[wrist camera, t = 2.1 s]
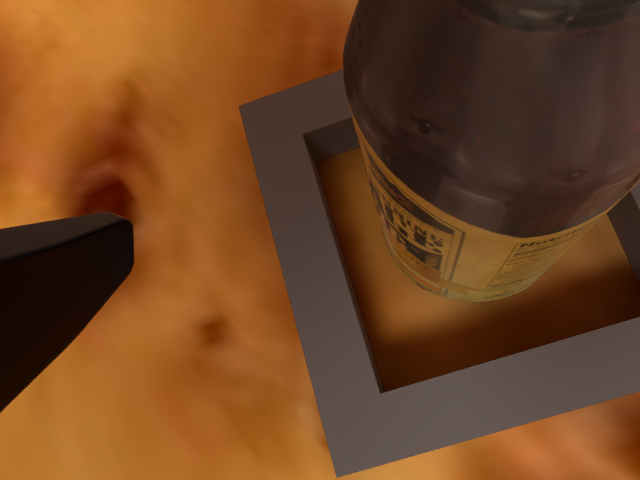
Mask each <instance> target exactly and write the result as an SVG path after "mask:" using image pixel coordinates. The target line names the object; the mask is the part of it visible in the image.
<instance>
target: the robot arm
mask: <svg viewBox="0 0 640 480" xmlns="http://www.w3.org/2000/svg"><path fill="white" fill-rule="evenodd" d="M133 264H134V235H133V225H132V223H131V221H130V220H129V219H127V218H125V217H122V216H120V215H117V214H115V213H112V212H102V213H96V214H89V215H83V216H77V217H71V218H65V219H59V220H53V221H47V222H41V223H34V224H28V225H22V226H16V227H10V228H4V229H0V412H2V411H3V410H4V409H5V408H6V407H7V406H8V405H9V404H10V403H11V402H12V401H13V400H14V399H15V398H16V397H17V396H18V395H19V394H20V393H21V392H22V391H23V390H24V389H25V388H26V387H27V386H28V385H29V384H30V383H31V382H32V381H33V380H34V379H35V378H36V377H37V376H38V375H39V374H40V373H41V372H42V371H43V370H44V369H45V368H47V367H48V366H49V365H50V364H51V363H52V362H53V361H54V360H55V359H56V358H57V357H58V356H59V355H60V354H61V353H62V352H63V351H64V350H65V349H66V348H67V347H68V346H69V345H70V344H71V343H72V342H73V341H74V339H75V338H76V337H77V336H78V335H79V334H80V333H81V332H82V330H83V329H84V328H85V327H86V326H87V324H88V323H89V322H90V321H91V320H92V318H93V317H94V316H95V315H96V314H97V312H98V311H99V310H100V309H101V308H102V306H103V305H104V304H105V303H106V302H107V300H108V299H109V298H110V297H111V296H112V294H113V293H114V292H115V291H116V290H117V288H118V287H119V286H120V285H121V284H122V282H123V281H124V280H125V279H126V278H127V276H128V275H129V274H130V272H131V270H132V268H133Z"/></svg>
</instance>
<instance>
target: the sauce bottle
mask: <svg viewBox="0 0 640 480" xmlns="http://www.w3.org/2000/svg"><path fill="white" fill-rule="evenodd" d="M343 81H344V85H345V90H346V95H347V99H348V103H349V107H350V111H351V116H352V119H353V123H354V127H355V130H356V134H357V137H358V140H359V144H360V148H361V152H362V156H363V162H364V165H365V168H366V173H367V176H368V179H369V183H370V186H371V190H372V194H373V198H374V201H375V204H376V208H377V212H378V215H379V219H380V223H381V227H382V231H383V234H384V238H385V241H386V244H387V247H388V249H389V251H390V253H391V254H392V256H393V258H394V259H395V261H396V263H397V265H398V266H399V267H400V268H401V269H402V270H403V272H404V273H406V274H407V275H408V276H409V277H410V278H411V279H412V280H413V281H414V282H415V283H417V284H418V285H419V286H420V287H421V288H423V289H425V290H428V291H430V292H432V293H434V294H436V295H439V296H441V297H444V298H447V299H451V300H455V301H463V302H478V303H486V302H491V301H494V300H499V299H503V298H506V297H509V296H512V295H514V294H517V293H519V292H521V291H524V290H526V289H527V288H529V287H530V286H531V285H532V284H533V283H534V282H536V281H537V280H538V279H539V278H540V277H541V276H542V275H543V274H545V273H546V272H547V271H548V270H549V269H550V268H551V267H552V266H553V265H554V264H555V263H556V262H557V261H558V260H559V259H560V258H561V257H563V256H564V255H565V254H566V253H567V252H568V251H569V250H570V249H571V248H572V247H573V246H574V245H575V244H576V243H577V242H578V241H579V240H580V239H581V238H582V237H583V236H584V235H585V234H586V233H587V232H588V231H589V230H590V229H591V228H592V227H593V226H594V225H595V224H596V223H597V222H598V221H599V220H600V219H601V218H602V217H603V216H604V215H605V214H606V213H608V212H609V211H610V210H611V209H612V208H613V207H614V206H615V205H616V204H617V203H618V202H619V201H620V200H621V199H622V198H623V197H624V196H625V195H626V194H627V193H628V192H629V191H630V190H631V189H632V188H633V187H634V186H635V184H636V183H637V182H638V181H639V180H640V0H358V3H357V6H356V9H355V12H354V15H353V18H352V21H351V24H350V27H349V30H348V33H347V36H346V41H345V46H344V51H343Z"/></svg>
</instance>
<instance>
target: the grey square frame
mask: <svg viewBox="0 0 640 480" xmlns="http://www.w3.org/2000/svg"><path fill="white" fill-rule="evenodd" d="M239 109H240V113H241V117H242V120H243V124H244V128H245V132H246V136H247V139H248V143H249V147H250V151H251V155H252V158H253V162H254V166H255V170H256V173H257V177H258V181H259V185H260V189H261V192H262V196H263V200H264V204H265V208H266V211H267V215H268V219H269V223H270V227H271V230H272V234H273V238H274V242H275V245H276V249H277V253H278V257H279V261H280V264H281V268H282V272H283V276H284V280H285V283H286V287H287V291H288V295H289V299H290V302H291V306H292V310H293V314H294V317H295V321H296V325H297V329H298V333H299V336H300V340H301V344H302V348H303V352H304V355H305V359H306V363H307V367H308V371H309V374H310V378H311V382H312V386H313V389H314V393H315V397H316V401H317V405H318V408H319V412H320V416H321V420H322V424H323V427H324V431H325V435H326V439H327V443H328V446H329V450H330V454H331V458H332V461H333V465H334V469H335V473H336V477H341V476H344V475H348V474H351V473H355V472H358V471H362V470H365V469H369V468H372V467H376V466H379V465H383V464H386V463H390V462H393V461H397V460H400V459H404V458H407V457H411V456H414V455H418V454H421V453H425V452H429V451H432V450H436V449H439V448H443V447H446V446H450V445H453V444H457V443H460V442H464V441H467V440H471V439H474V438H478V437H481V436H485V435H488V434H492V433H495V432H499V431H502V430H506V429H509V428H513V427H516V426H520V425H523V424H527V423H530V422H534V421H537V420H541V419H544V418H548V417H551V416H555V415H558V414H562V413H565V412H569V411H572V410H576V409H579V408H583V407H586V406H590V405H593V404H597V403H600V402H604V401H607V400H611V399H614V398H618V397H621V396H625V395H628V394H632V393H635V392H639V391H640V317H637V318H634V319H631V320H627V321H624V322H620V323H617V324H614V325H610V326H607V327H604V328H600V329H597V330H593V331H590V332H587V333H583V334H580V335H577V336H573V337H570V338H566V339H563V340H560V341H556V342H553V343H550V344H546V345H543V346H539V347H536V348H533V349H529V350H526V351H523V352H519V353H516V354H513V355H509V356H506V357H502V358H499V359H496V360H492V361H489V362H486V363H482V364H479V365H475V366H472V367H469V368H465V369H462V370H459V371H455V372H452V373H448V374H445V375H442V376H438V377H435V378H432V379H428V380H425V381H421V382H418V383H415V384H411V385H408V386H405V387H401V388H398V389H394V390H391V391H388V392H385V391H384V388H383V385H382V381H381V378H380V375H379V371H378V368H377V365H376V361H375V358H374V355H373V351H372V348H371V345H370V342H369V338H368V335H367V332H366V328H365V325H364V322H363V318H362V315H361V312H360V308H359V305H358V302H357V299H356V295H355V292H354V289H353V285H352V282H351V279H350V275H349V272H348V269H347V265H346V262H345V259H344V256H343V252H342V249H341V246H340V242H339V239H338V236H337V232H336V229H335V226H334V222H333V219H332V216H331V212H330V209H329V206H328V203H327V199H326V196H325V193H324V189H323V186H322V183H321V179H320V176H319V173H318V169H317V166H316V163H315V162H316V161H319V160H322V159H325V158H328V157H331V156H334V155H337V154H340V153H343V152H346V151H349V150H352V149H355V148H358V147H360V144H359V140H358V137H357V134H356V130H355V127H354V123H353V119H352V116H351V111H350V107H349V103H348V99H347V95H346V90H345V85H344V81H343V70H340V71H337V72H335V73H332V74H329V75H326V76H323V77H320V78H317V79H315V80H312V81H309V82H306V83H303V84H300V85H297V86H295V87H292V88H289V89H286V90H283V91H280V92H278V93H275V94H272V95H269V96H266V97H263V98H260V99H258V100H255V101H252V102H249V103H246V104H243V105H240V106H239ZM607 215H608V217H609V219H610V221H611V223H612V225H613V227H614V229H615V232H616V234H617V236H618V238H619V240H620V242H621V244H622V247H623V249H624V251H625V253H626V255H627V257H628V259H629V261H630V264H631V266H632V268H633V270H634V272H635V274H636V276H637V279H638V281H639V283H640V180H639V181H638V182H637V183H636V184H635V186H634V187H633V188H632V189H631V190H630V191H629V192H628V193H627V194H626V195H625V196H624V197H623V198H622V199H621V200H620V201H619V202H618V203H617V204H616V205H615V206H614V207H613V208H612V209H611V210H610V211H609V212H608V213H607Z"/></svg>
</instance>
